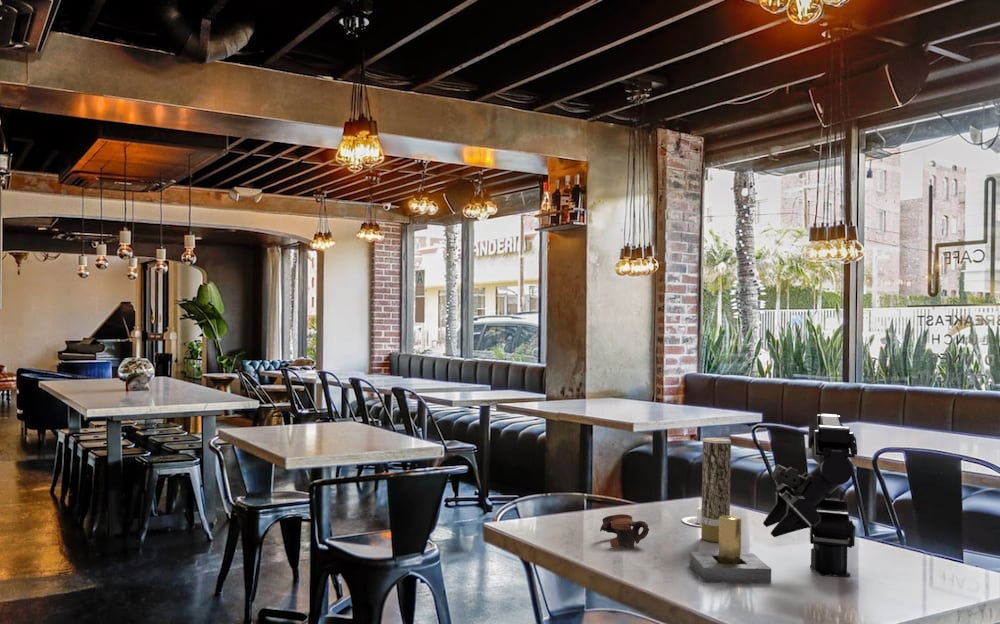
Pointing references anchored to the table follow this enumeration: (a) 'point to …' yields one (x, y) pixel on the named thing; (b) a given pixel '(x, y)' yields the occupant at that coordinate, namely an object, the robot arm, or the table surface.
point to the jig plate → (730, 568)
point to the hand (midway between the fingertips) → (768, 530)
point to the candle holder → (699, 517)
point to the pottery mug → (624, 530)
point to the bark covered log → (715, 485)
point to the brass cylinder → (729, 540)
